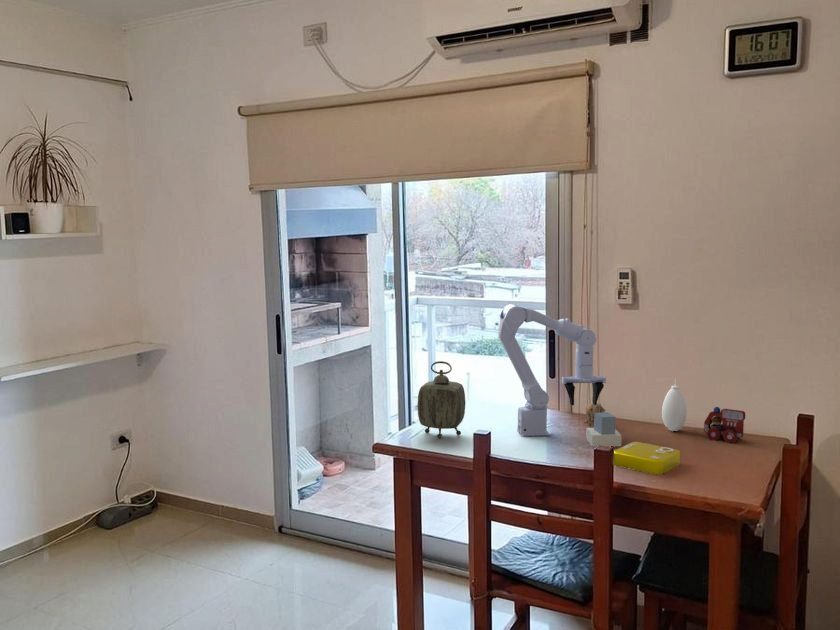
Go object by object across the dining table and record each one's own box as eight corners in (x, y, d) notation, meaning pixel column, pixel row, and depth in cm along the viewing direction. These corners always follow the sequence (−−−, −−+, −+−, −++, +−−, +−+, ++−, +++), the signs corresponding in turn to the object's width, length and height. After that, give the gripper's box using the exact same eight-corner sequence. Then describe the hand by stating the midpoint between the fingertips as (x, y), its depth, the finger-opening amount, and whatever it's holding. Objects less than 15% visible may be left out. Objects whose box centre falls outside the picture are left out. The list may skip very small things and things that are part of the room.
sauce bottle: (689, 430, 246) (691, 377, 244) (680, 435, 240) (683, 381, 238) (666, 426, 251) (668, 375, 249) (657, 431, 245) (659, 378, 243)
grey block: (601, 434, 228) (602, 417, 227) (593, 429, 234) (594, 412, 233) (615, 433, 229) (615, 416, 228) (607, 429, 235) (607, 412, 234)
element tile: (633, 454, 221) (634, 439, 220) (682, 464, 211) (682, 448, 210) (609, 466, 210) (610, 449, 209) (660, 477, 200) (660, 460, 199)
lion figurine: (606, 430, 247) (607, 404, 246) (591, 430, 247) (591, 404, 246) (592, 419, 262) (593, 394, 261) (578, 419, 261) (578, 394, 260)
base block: (592, 447, 228) (592, 435, 227) (586, 439, 237) (586, 427, 236) (621, 447, 228) (621, 435, 227) (613, 439, 237) (614, 427, 236)
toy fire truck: (708, 433, 242) (709, 403, 241) (747, 440, 234) (748, 408, 233) (700, 438, 237) (702, 406, 236) (740, 445, 229) (742, 412, 228)
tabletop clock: (465, 434, 241) (465, 360, 239) (459, 442, 233) (459, 364, 230) (423, 431, 245) (423, 358, 242) (415, 438, 237) (415, 362, 234)
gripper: (566, 366, 237) (565, 407, 239) (609, 366, 239) (608, 406, 240) (560, 363, 244) (559, 402, 246) (602, 362, 246) (601, 401, 247)
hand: (583, 404), depth 243 cm, fingers open, 7 cm apart
